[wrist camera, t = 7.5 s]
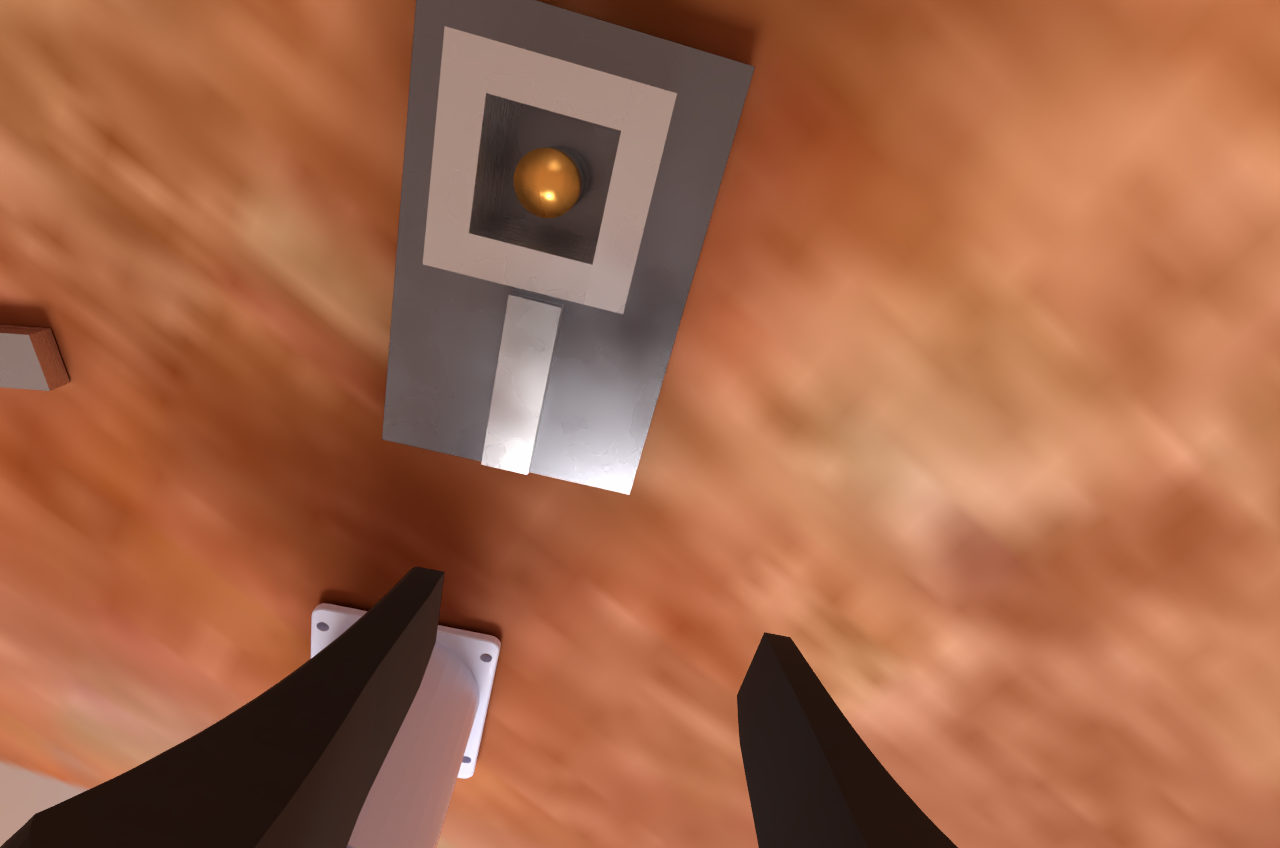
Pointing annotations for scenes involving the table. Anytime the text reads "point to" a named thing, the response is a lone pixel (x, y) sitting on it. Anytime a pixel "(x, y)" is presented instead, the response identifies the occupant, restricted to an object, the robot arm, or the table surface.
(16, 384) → the chain
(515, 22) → the keeper
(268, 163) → the table surface
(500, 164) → the end link
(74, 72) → the table surface
